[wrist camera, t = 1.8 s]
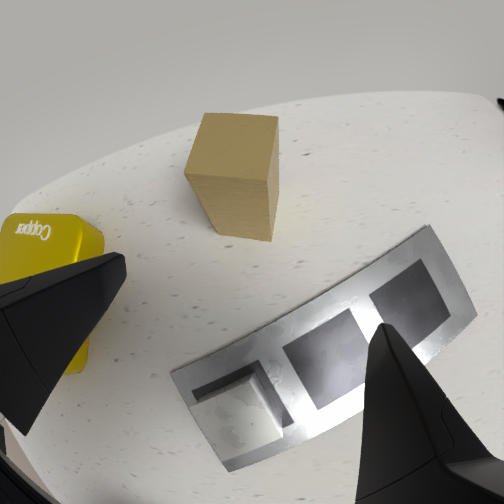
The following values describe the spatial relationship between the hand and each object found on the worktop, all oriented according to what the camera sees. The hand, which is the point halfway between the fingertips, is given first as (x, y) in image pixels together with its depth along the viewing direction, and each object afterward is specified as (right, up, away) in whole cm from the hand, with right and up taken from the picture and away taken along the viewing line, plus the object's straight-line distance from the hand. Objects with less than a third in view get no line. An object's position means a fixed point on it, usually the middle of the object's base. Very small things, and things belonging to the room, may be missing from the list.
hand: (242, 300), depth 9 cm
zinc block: (0, -11, +11) cm, 15 cm away
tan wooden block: (0, +5, +16) cm, 16 cm away
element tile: (-22, -3, +16) cm, 27 cm away
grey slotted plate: (+8, -6, +12) cm, 15 cm away
